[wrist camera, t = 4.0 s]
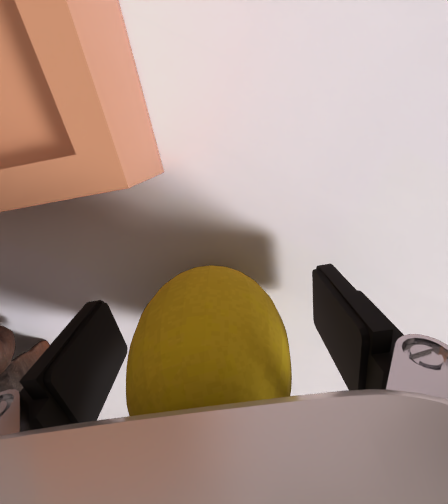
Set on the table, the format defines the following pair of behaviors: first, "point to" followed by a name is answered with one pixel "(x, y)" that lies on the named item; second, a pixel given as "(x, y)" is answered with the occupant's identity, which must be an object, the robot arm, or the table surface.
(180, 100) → the table surface
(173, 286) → the lemon
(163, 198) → the table surface
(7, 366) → the pottery mug
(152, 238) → the table surface
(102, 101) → the orange square tray
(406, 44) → the table surface
